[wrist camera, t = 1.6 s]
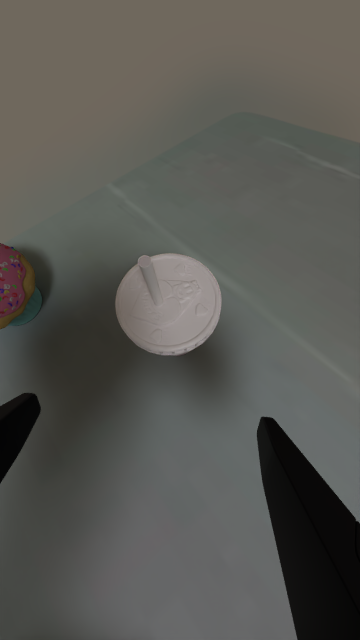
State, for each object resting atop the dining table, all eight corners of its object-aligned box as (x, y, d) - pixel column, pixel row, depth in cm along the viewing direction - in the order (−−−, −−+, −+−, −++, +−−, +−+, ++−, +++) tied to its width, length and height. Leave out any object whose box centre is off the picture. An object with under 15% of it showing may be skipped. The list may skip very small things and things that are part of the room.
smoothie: (135, 322, 23) (61, 226, 10) (192, 297, 24) (195, 175, 10) (159, 381, 21) (108, 362, 8) (221, 353, 22) (268, 290, 8)
